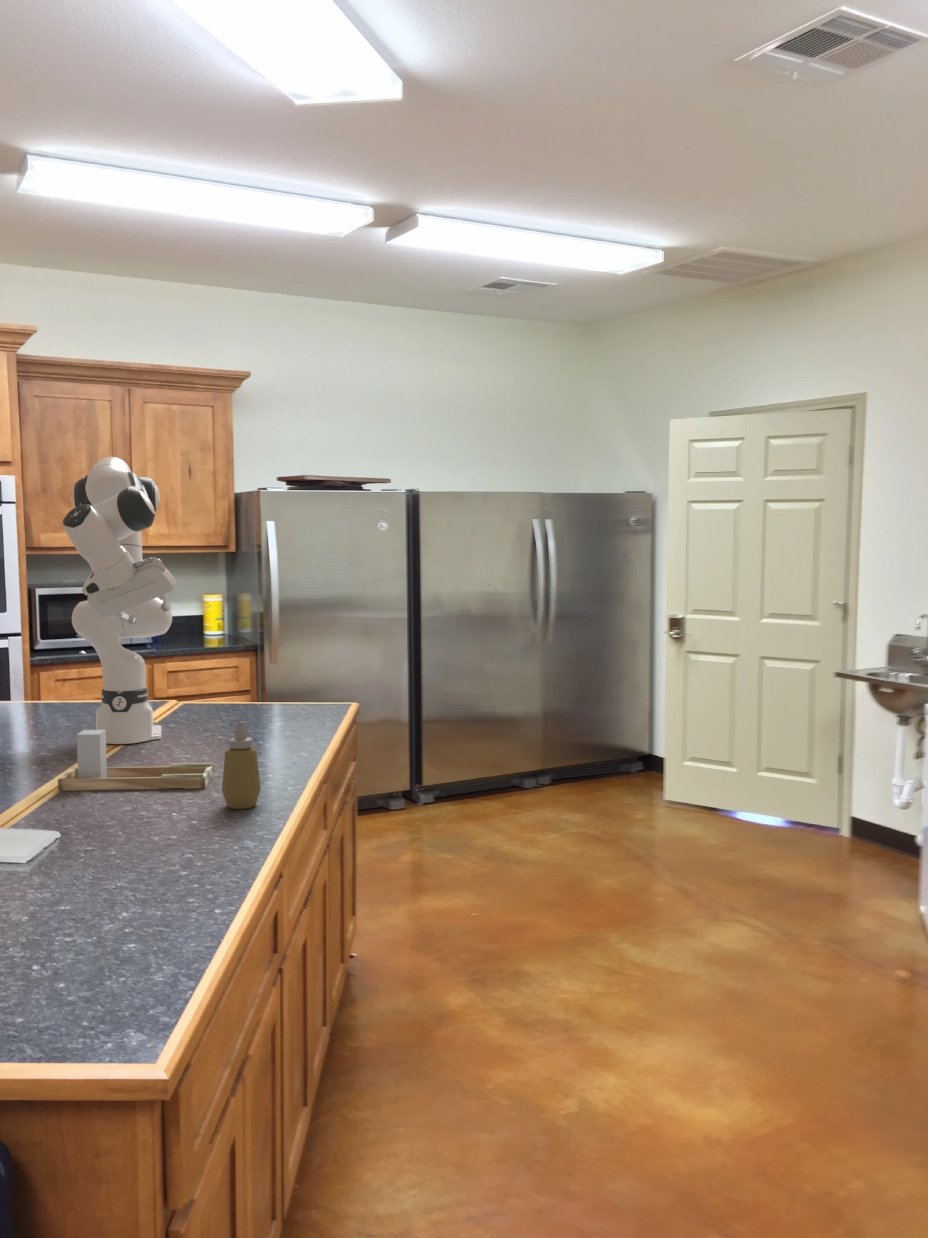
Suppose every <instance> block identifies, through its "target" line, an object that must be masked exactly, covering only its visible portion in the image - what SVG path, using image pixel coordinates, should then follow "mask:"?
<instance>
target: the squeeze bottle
mask: <svg viewBox="0 0 928 1238" xmlns="http://www.w3.org/2000/svg"><path fill="white" fill-rule="evenodd" d="M234 733H235V734H234V737H232V738H230V739H229V748H228V749H227V750H226V751H224V760H223V761H224V764H223V773H222V774H223V775H222V786H221V792H222V796H223V797H224V798H223V799H224V801H225V803H226V805H227V807H228V808H230V809H234V810H245V809H251V808H254V807H256V805H257V802H258V799H259V795H260V792H261V790H262V789H261V780H260V770H259V762H258V760H259V759H258V753H257V750H256V749H255V748H254V747H253V739H252V738H251V737H248V736H247V733H246V728H245V724H244V721H237V725H236V729H235V732H234Z"/></svg>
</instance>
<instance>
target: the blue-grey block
mask: <svg viewBox="0 0 928 1238" xmlns="http://www.w3.org/2000/svg"><path fill="white" fill-rule="evenodd" d="M76 746H77V747H76V748H77V750H76V751H77V753H76V754H77V768H78V778H107V767H108V765H107V763H108V762H107V759H108V758H107V743H106V730H96V729H82V730H81V731H80V732H78V733H77V734H76Z"/></svg>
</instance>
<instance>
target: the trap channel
mask: <svg viewBox="0 0 928 1238" xmlns="http://www.w3.org/2000/svg"><path fill="white" fill-rule="evenodd" d="M213 767H214V766H213V765H212V764H211V762H192V763H191V762H190V763H187V762H184V763H176V762H175V763H170V765H167V766H166V765H165V766H164V765H162V766H160V765H159V766H156V765H155V766H153V765H152V766H148V765H147V766H107V778H78V767H71V769H69V770H68V771H67V772H65V773H64V774H63V775H61V777H59V778H58V779H57V787H58V788H57V789H58V790H57V791H60V792H61V791H112V790H113V791H114V790H115V791H116V790H118V791H119V790H121V791H122V790H126V791H127V790H170V788H184V789H206V788H207V786H208V784H209V783H210V781H211V779H212V778H213V775H214V773H213V772H214V770H213V769H214V768H213ZM205 787H206V788H205Z"/></svg>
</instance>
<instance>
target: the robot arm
mask: <svg viewBox="0 0 928 1238" xmlns="http://www.w3.org/2000/svg"><path fill="white" fill-rule="evenodd" d="M160 497H161V495H160V489H159V488H158V485H157V483H156V481H155V480H153V479H152V478H150V477H146V476H140V477H138V475H137V474H136V473H134V472H133V471H132V470H131V468H130V466H129V465H128V464H127V462H126V461H124V460H123V459H121V458H119V457H116V456H108V457H107V456H106V457H103V458H102V459H101V458H100V459H99V460H98V461H97V462H96V463H94V465H93V467H92V468H91V469H90V471H89V473H88V474H86V475H85V477H82V478H79V480H77V481H76V482H75V484H74V487H73V489H72V494H71V501H72V503H73V509H71V510H69V512H67V514H65V516H64V517H63V520H62V527H63V528H64V531H65V533H66V535H67V536H68V539H69V541H70V542H71V544H72V545H73V547H74V548H75V549H76V551H77V552H78V554H79V556H81V557H82V558H83V559H84V560H85V561H87V563H88V565H89V567H90V570H91V572H92V573H90V574H89V576H88V577H87V579H86V580H85V581H84V584H83V585H82V588H81V592H82V593H83V594H84V595H85V596H87V598H86V599H87V600H83V601H79V602H78V603H77V604H76V605H75V607H74V608H73V611H72V614H71V624H72V627H73V629H74V631H75V633H76V634H77V635H79V636H80V637H81V638H83V639H84V640H86V641H87V642H88V643H89V644H90V645H91V646H92V647H93V649H94V650H95V653H97V656H98V657H99V660H100V661H99V662H100V665H101V673H102V689H101V695H100V696H101V703H102V704H101V705H100V707H98V708H97V709H96V712H95V715H96V716H95V717H96V718H95V730H106V745H124V744H125V745H128V744H137V743H142V742H148V741H154V740H160V739H162V725H159V724H157V722H156V720H154V710H153V708H152V706H151V704H150V703H149V701H148V700H149V691H148V686H147V685H146V662H145V660H144V658H143V657H142V655H140V654H139V653H137V652H136V651H132V650H131V649H128V648H125V647H124V646H123V645H122V644H121V639H135V638H136V639H137V638H139V639H140V638H141V639H142V638H145V639H146V638H151V637H157V636H161V635H165V634H166V633H167V632H168V630H169V629H170V627H171V625H172V624H173V613H172V606H171V604H170V602H169V601H168V600H169V597H168V595H169V593H172V592H173V591H174V589H175V587H176V584H177V579H176V578H175V577H174V575H173V574H172V573H171V572H170V571H169V569H168V568H167V567H166V566H165V564H164V563H163V561H162V560H161V558H157V557H152V556H149V557H147V558H145V559H143V542H142V541H143V539H142V531H143V530H146V529H148V528H150V527H152V525H153V523H154V521H155V517H156V512H157V510H158V507H159V505H160V501H161V499H160Z"/></svg>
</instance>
